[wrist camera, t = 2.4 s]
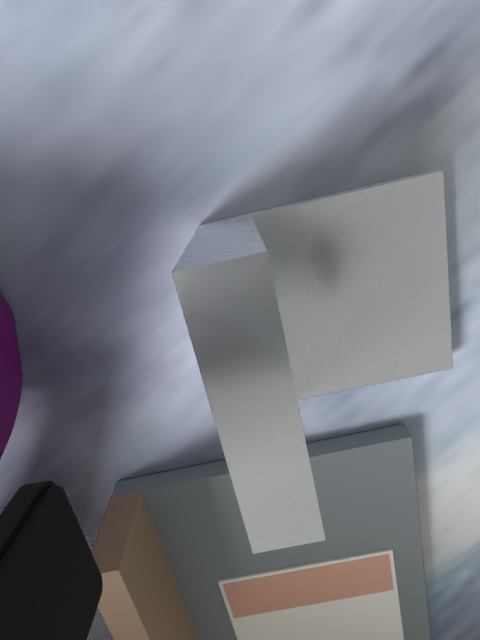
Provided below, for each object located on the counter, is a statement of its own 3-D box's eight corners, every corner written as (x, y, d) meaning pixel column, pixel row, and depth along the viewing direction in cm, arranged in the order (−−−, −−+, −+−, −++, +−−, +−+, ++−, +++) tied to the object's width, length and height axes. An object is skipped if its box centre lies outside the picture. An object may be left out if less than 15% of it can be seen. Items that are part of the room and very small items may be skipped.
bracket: (243, 399, 19) (252, 553, 11) (199, 224, 16) (171, 272, 8) (441, 358, 18) (591, 490, 11) (430, 171, 15) (622, 170, 8)
